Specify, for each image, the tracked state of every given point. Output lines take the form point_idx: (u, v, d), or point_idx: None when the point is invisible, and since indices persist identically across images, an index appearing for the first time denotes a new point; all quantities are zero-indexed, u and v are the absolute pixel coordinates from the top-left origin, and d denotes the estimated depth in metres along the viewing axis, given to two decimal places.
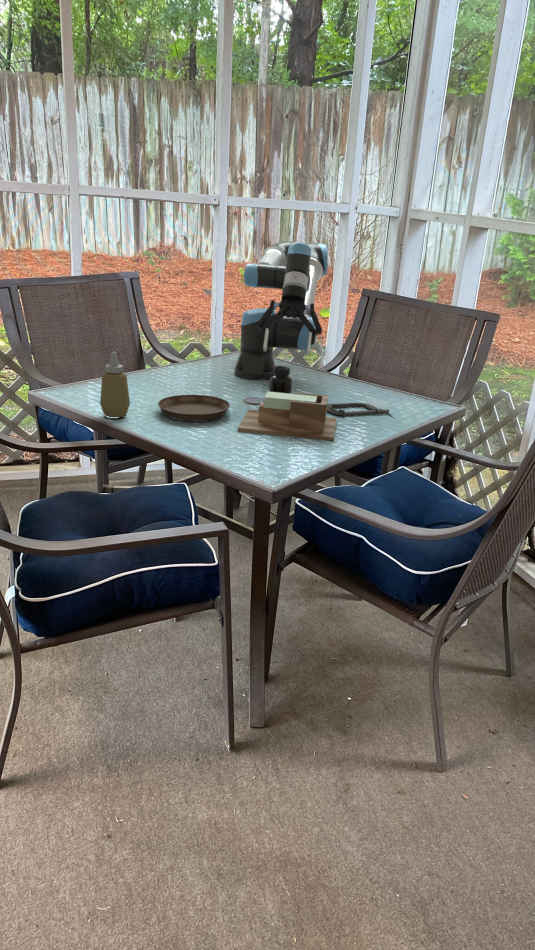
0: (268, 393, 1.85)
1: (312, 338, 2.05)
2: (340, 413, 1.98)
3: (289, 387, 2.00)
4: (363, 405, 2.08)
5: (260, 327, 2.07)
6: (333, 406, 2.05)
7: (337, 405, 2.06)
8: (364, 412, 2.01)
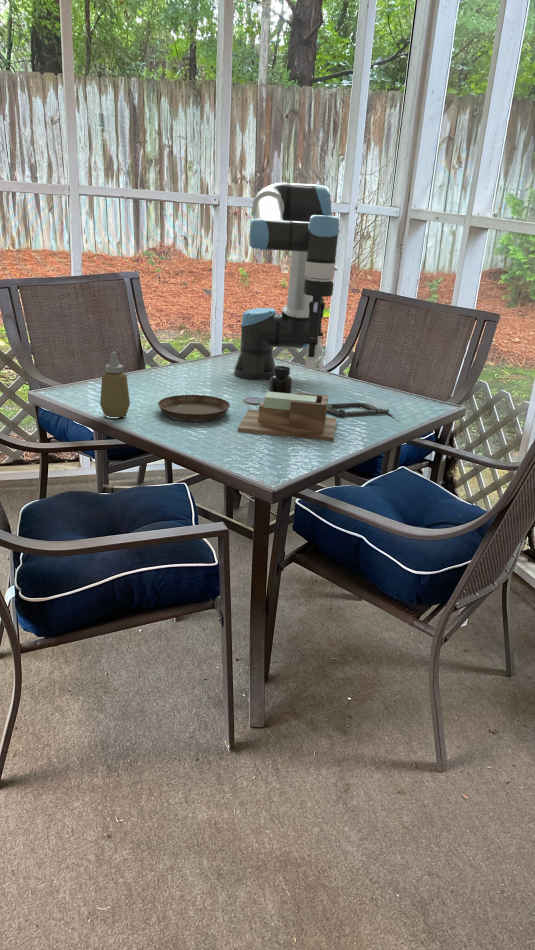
0: (268, 393, 1.85)
1: (317, 342, 1.83)
2: (340, 413, 1.97)
3: (289, 387, 2.00)
4: (363, 405, 2.08)
5: (314, 343, 1.70)
6: (333, 406, 2.05)
7: (337, 405, 2.06)
8: (364, 412, 2.01)
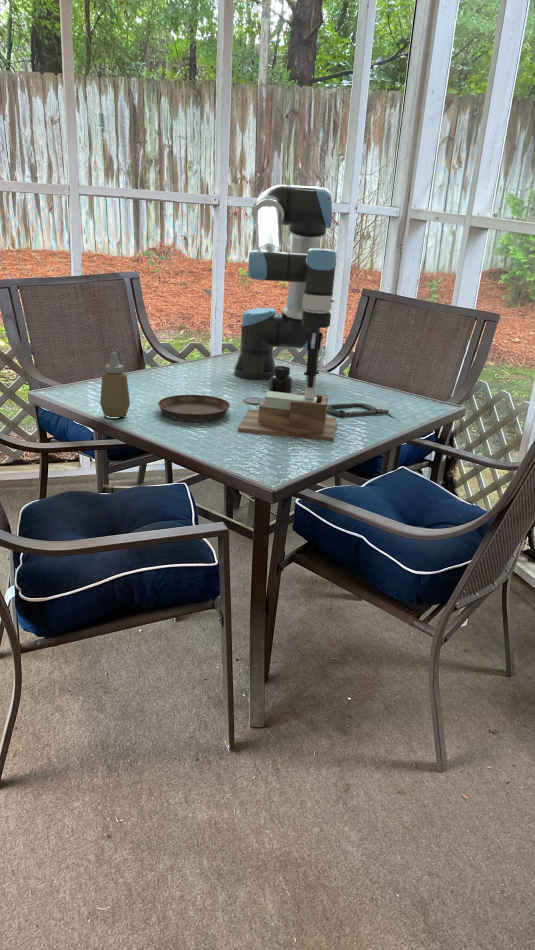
0: (268, 392, 1.85)
1: None
2: (340, 413, 1.97)
3: (289, 387, 2.00)
4: (362, 405, 2.08)
5: (312, 375, 1.78)
6: (333, 407, 2.05)
7: (336, 406, 2.06)
8: (364, 412, 2.00)
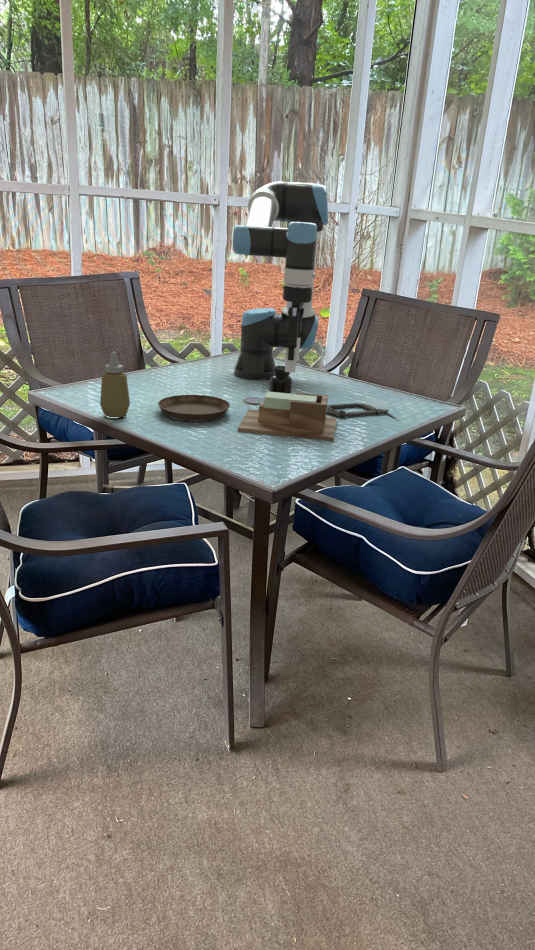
0: (268, 393, 1.85)
1: None
2: (341, 414, 1.97)
3: (289, 387, 2.00)
4: (361, 405, 2.07)
5: (293, 347, 1.69)
6: (332, 407, 2.04)
7: (336, 406, 2.05)
8: (364, 412, 2.00)
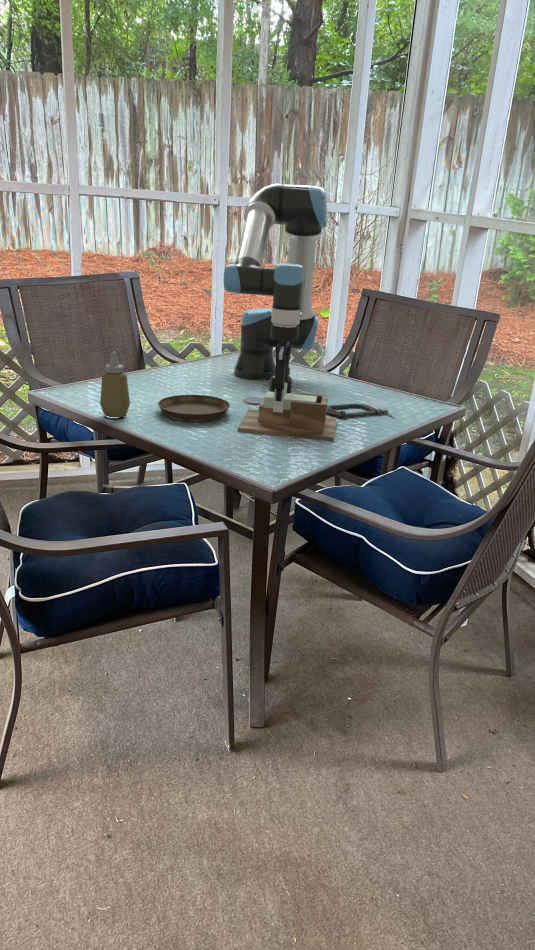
0: (268, 393, 1.85)
1: None
2: (341, 415, 1.96)
3: (289, 387, 2.00)
4: (361, 406, 2.07)
5: (280, 389, 1.77)
6: (332, 408, 2.04)
7: (336, 406, 2.04)
8: (364, 413, 2.00)
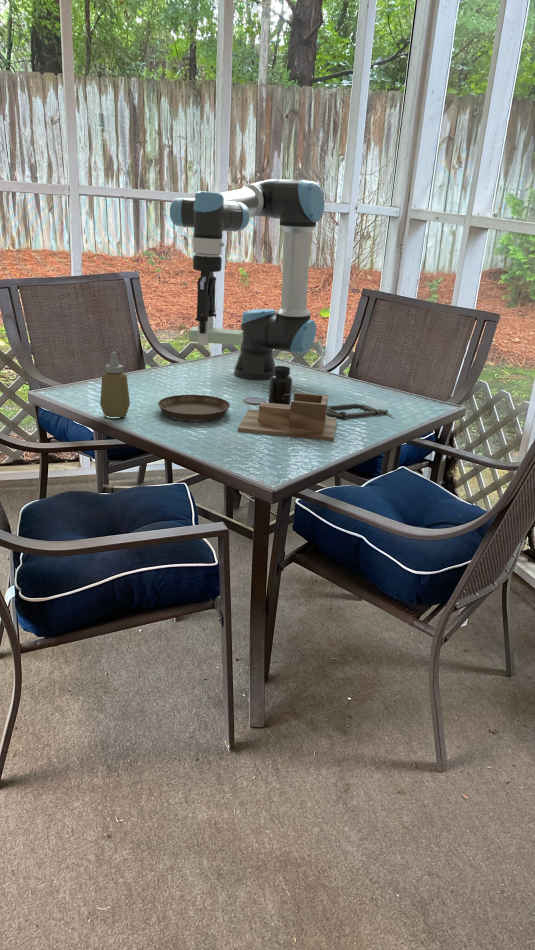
0: (194, 327, 1.84)
1: None
2: (342, 415, 1.96)
3: (289, 387, 2.00)
4: (360, 406, 2.07)
5: (203, 320, 1.76)
6: (332, 408, 2.03)
7: (335, 407, 2.04)
8: (364, 413, 1.99)
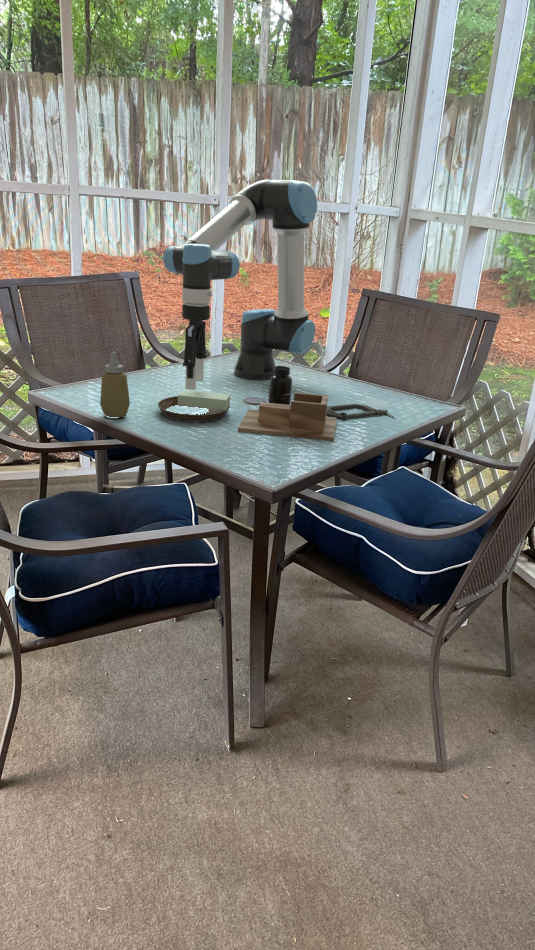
0: (183, 391, 1.92)
1: None
2: (342, 416, 1.95)
3: (289, 387, 2.00)
4: (360, 406, 2.07)
5: (190, 366, 1.80)
6: (331, 409, 2.03)
7: (335, 407, 2.03)
8: (364, 414, 1.99)
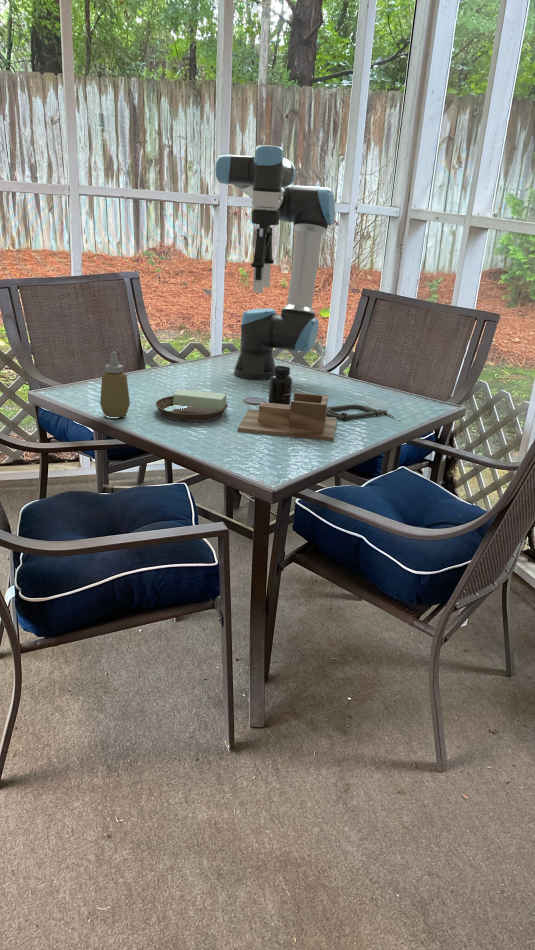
0: (179, 391, 1.92)
1: None
2: (343, 416, 1.94)
3: (289, 387, 2.00)
4: (359, 407, 2.06)
5: (260, 266, 1.78)
6: (331, 409, 2.02)
7: (335, 408, 2.03)
8: (365, 414, 1.99)
